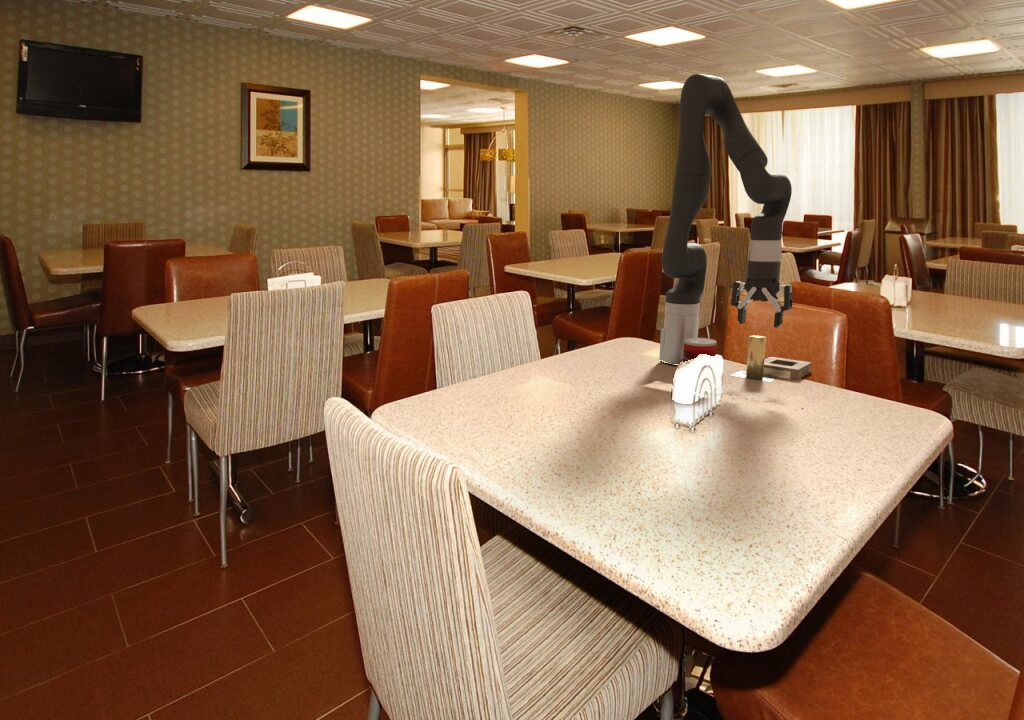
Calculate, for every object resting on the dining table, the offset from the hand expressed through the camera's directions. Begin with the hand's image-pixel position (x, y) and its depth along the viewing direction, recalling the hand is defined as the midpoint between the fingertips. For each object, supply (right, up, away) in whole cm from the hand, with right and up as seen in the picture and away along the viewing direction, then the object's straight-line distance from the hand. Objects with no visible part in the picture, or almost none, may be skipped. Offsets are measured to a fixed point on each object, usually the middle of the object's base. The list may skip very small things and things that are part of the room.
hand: (759, 325), depth 166 cm
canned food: (-15, -15, +1) cm, 21 cm away
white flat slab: (0, -14, +3) cm, 15 cm away
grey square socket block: (+9, -13, +8) cm, 18 cm away
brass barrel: (0, -13, +3) cm, 13 cm away
